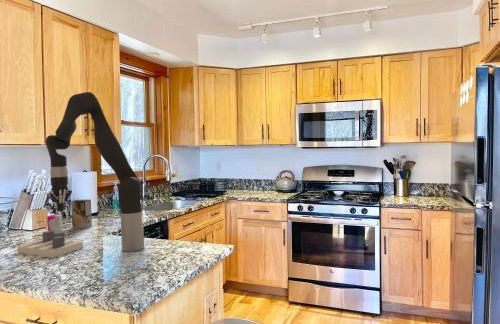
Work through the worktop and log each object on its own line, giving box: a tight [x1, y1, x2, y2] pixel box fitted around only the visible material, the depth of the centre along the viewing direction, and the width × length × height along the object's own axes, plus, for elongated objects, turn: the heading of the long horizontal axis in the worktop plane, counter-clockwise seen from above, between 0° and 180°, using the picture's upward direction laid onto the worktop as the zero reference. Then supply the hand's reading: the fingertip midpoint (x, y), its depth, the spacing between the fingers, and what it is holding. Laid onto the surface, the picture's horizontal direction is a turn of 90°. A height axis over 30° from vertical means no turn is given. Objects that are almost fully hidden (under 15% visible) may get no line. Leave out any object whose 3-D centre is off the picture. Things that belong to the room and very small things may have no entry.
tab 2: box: [53, 231, 66, 241], centre depth 171 cm, size 4×3×5 cm
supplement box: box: [47, 213, 64, 233], centre depth 192 cm, size 6×6×12 cm
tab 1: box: [42, 230, 54, 243], centre depth 174 cm, size 4×3×5 cm
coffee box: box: [70, 199, 93, 229], centre depth 213 cm, size 9×6×16 cm
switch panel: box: [17, 238, 84, 259], centre depth 167 cm, size 16×22×3 cm
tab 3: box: [52, 236, 65, 249], centre depth 163 cm, size 4×3×5 cm
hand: (60, 210), depth 180 cm, fingers closed
